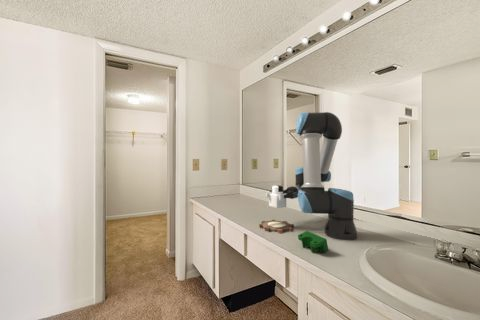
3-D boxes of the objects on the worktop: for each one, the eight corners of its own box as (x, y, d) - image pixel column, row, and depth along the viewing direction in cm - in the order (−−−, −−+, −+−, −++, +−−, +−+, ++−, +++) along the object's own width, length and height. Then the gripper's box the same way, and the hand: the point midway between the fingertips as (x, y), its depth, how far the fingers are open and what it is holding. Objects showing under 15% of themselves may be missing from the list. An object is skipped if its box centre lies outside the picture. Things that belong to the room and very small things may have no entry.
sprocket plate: (300, 227, 118) (300, 224, 118) (282, 235, 104) (282, 232, 104) (272, 220, 131) (272, 217, 131) (252, 227, 117) (252, 224, 117)
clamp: (303, 256, 91) (294, 236, 94) (313, 250, 94) (304, 231, 96) (321, 257, 81) (310, 234, 83) (332, 250, 83) (321, 228, 86)
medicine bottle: (278, 204, 124) (278, 184, 124) (286, 207, 118) (286, 185, 118) (268, 206, 120) (268, 185, 121) (276, 208, 114) (276, 186, 114)
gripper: (309, 200, 125) (289, 205, 108) (279, 196, 139) (257, 200, 123) (309, 187, 125) (289, 191, 108) (279, 184, 140) (257, 187, 123)
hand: (272, 196), depth 116 cm, fingers closed on medicine bottle, 9 cm apart
